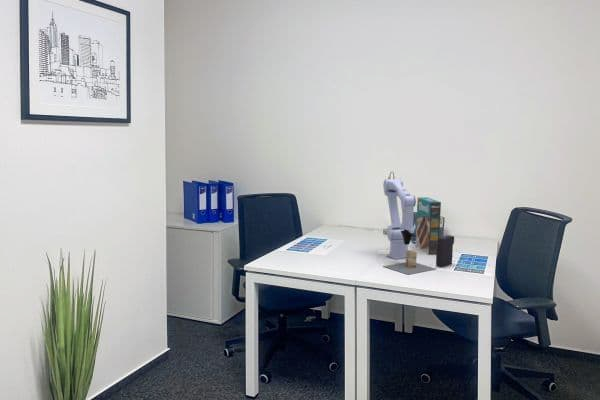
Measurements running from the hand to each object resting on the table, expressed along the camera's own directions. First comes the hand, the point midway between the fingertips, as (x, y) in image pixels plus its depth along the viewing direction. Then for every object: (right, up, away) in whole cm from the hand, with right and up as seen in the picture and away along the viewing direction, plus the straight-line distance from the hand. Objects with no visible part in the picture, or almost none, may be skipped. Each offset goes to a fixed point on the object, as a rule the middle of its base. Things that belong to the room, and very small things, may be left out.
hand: (406, 244), depth 272 cm
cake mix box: (+19, -7, +33) cm, 39 cm away
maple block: (+1, -11, -5) cm, 12 cm away
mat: (0, -11, -7) cm, 14 cm away
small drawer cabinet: (+19, -11, 0) cm, 22 cm away
